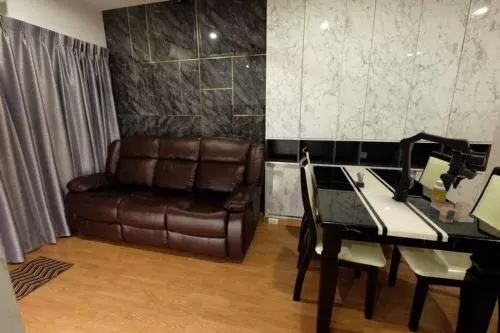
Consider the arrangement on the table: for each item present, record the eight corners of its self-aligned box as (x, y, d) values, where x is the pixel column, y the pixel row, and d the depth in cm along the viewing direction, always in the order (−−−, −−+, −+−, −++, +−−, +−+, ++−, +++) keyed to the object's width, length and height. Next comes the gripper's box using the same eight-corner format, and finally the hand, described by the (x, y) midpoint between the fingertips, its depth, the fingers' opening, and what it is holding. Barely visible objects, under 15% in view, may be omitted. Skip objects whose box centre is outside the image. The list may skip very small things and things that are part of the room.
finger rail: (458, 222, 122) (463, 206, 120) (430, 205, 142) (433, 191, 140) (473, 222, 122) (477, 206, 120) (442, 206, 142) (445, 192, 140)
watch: (362, 185, 178) (364, 171, 176) (364, 188, 171) (366, 174, 168) (354, 184, 180) (356, 170, 177) (355, 187, 172) (357, 173, 170)
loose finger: (445, 222, 121) (448, 210, 119) (438, 218, 125) (441, 206, 124) (453, 223, 121) (456, 210, 119) (446, 219, 125) (449, 206, 124)
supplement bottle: (438, 203, 146) (443, 183, 143) (427, 199, 153) (431, 180, 149) (447, 202, 148) (452, 183, 145) (436, 198, 154) (440, 179, 151)
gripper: (469, 167, 115) (461, 197, 119) (484, 164, 124) (476, 191, 128) (442, 163, 124) (436, 191, 128) (458, 159, 133) (451, 186, 137)
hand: (450, 190), depth 130 cm, fingers open, 9 cm apart
